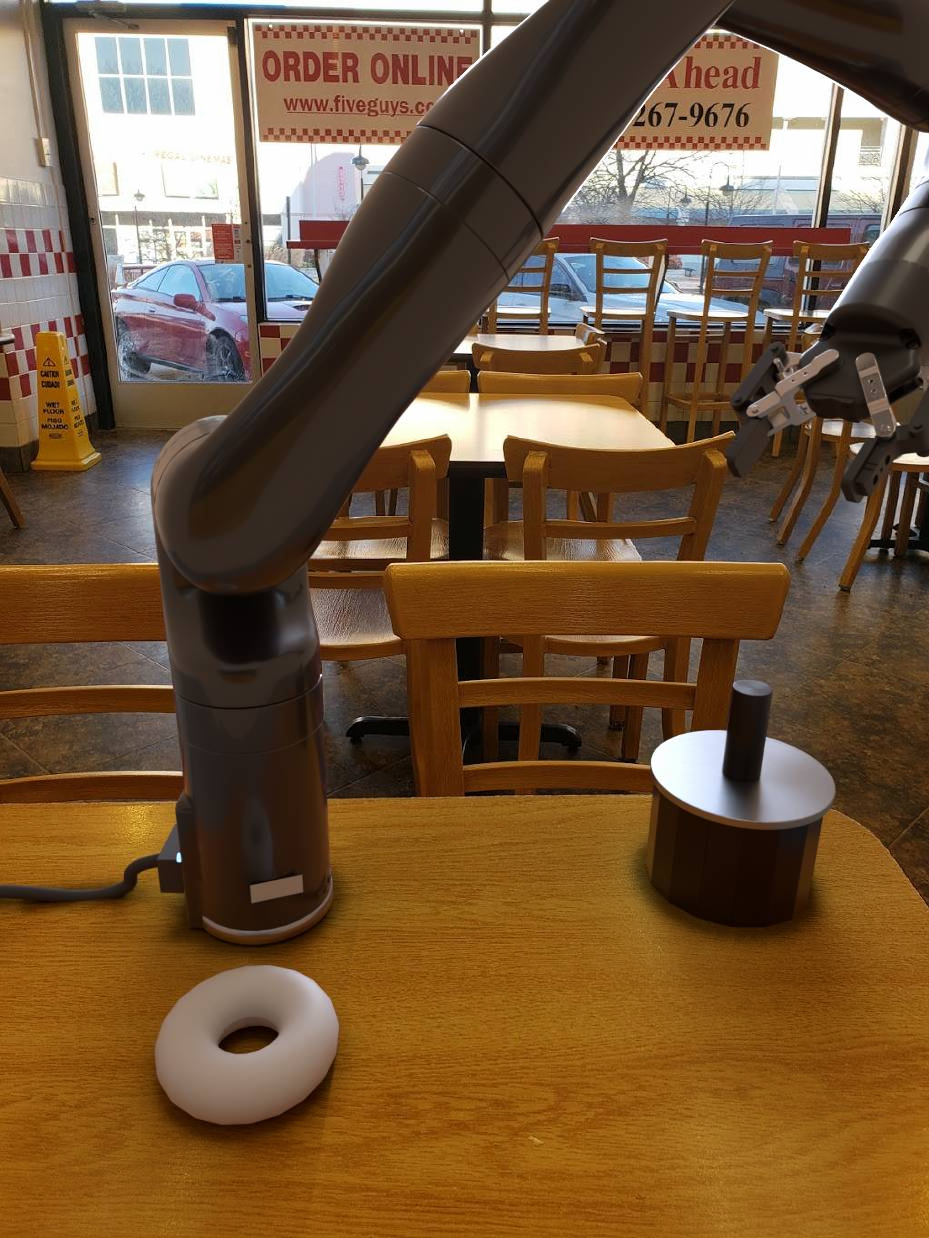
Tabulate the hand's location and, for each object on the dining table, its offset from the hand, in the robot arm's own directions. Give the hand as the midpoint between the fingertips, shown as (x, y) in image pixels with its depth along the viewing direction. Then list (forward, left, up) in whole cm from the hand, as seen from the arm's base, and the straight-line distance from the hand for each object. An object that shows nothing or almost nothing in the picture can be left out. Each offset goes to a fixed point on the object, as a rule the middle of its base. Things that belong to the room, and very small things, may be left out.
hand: (788, 482), depth 62 cm
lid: (-2, -4, -20) cm, 21 cm away
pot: (-2, -4, -29) cm, 29 cm away
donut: (-33, -21, -29) cm, 49 cm away
